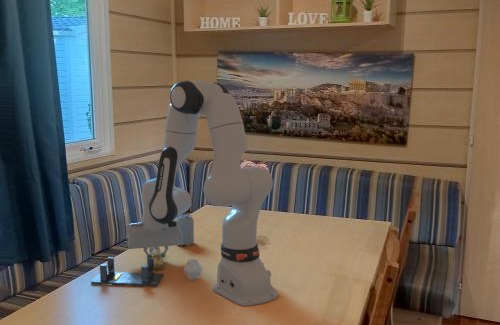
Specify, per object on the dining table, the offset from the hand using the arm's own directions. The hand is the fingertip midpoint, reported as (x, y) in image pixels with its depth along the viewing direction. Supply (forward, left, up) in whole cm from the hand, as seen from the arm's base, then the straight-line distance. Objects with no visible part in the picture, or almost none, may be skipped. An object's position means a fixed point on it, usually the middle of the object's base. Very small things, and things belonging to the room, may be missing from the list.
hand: (156, 257), depth 185 cm
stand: (-12, +14, -2) cm, 18 cm away
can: (+14, -17, -2) cm, 22 cm away
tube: (0, 0, -2) cm, 2 cm away
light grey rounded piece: (-21, -6, -2) cm, 22 cm away
